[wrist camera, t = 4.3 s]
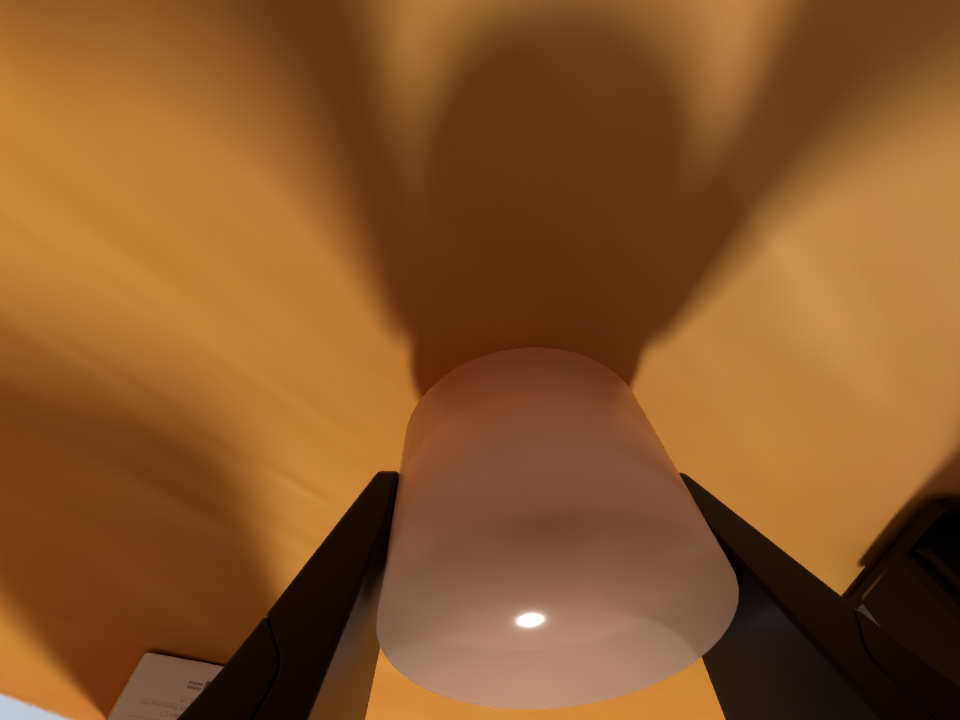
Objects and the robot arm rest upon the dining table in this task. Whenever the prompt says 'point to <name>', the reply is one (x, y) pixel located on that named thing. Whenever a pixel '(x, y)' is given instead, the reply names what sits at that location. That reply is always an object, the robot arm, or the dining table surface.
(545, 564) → the brown rounded cylinder
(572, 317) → the dining table surface
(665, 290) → the dining table surface
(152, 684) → the small box
